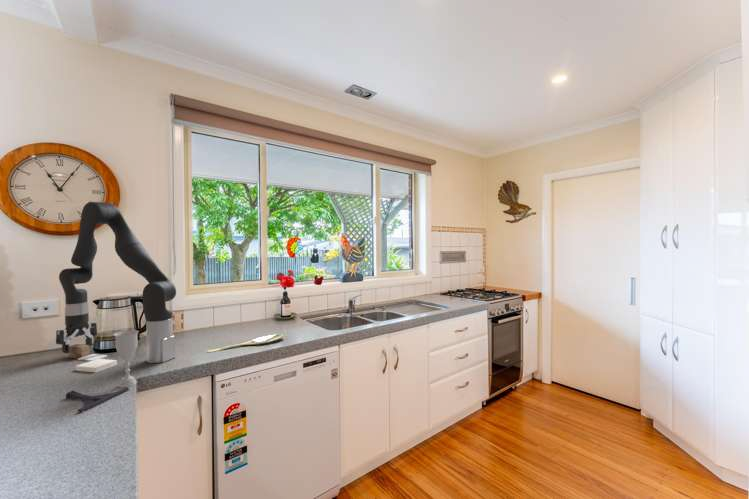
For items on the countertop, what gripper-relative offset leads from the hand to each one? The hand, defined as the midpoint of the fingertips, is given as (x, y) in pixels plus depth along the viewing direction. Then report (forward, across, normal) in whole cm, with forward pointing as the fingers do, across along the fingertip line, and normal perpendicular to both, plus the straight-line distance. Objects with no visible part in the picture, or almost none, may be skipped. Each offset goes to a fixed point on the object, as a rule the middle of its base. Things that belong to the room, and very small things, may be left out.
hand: (77, 349), depth 137 cm
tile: (+2, -8, -17) cm, 19 cm away
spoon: (+4, +28, -65) cm, 71 cm away
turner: (+3, 0, -5) cm, 6 cm away
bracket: (+4, -29, -48) cm, 56 cm away
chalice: (+3, -18, -50) cm, 53 cm away
